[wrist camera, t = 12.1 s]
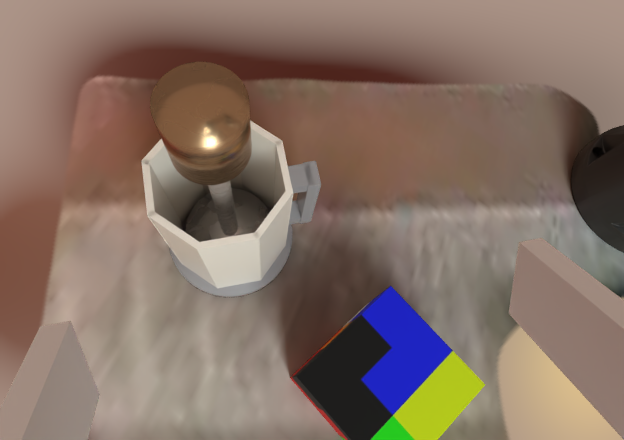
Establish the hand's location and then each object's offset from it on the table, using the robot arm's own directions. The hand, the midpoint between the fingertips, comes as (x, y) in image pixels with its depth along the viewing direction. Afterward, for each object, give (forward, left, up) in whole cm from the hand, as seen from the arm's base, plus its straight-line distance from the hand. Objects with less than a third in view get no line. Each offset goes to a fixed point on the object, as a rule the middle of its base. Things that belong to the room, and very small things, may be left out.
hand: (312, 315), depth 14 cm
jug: (+3, -13, -32) cm, 34 cm away
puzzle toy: (-7, +3, -32) cm, 33 cm away
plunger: (+3, -13, -29) cm, 32 cm away
